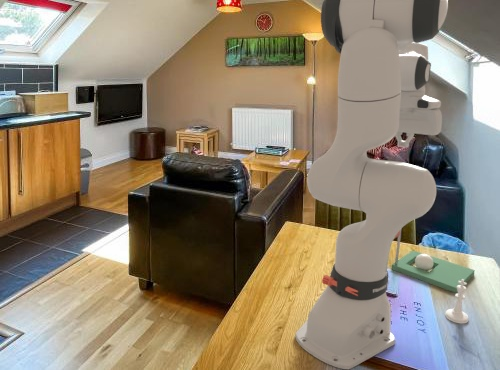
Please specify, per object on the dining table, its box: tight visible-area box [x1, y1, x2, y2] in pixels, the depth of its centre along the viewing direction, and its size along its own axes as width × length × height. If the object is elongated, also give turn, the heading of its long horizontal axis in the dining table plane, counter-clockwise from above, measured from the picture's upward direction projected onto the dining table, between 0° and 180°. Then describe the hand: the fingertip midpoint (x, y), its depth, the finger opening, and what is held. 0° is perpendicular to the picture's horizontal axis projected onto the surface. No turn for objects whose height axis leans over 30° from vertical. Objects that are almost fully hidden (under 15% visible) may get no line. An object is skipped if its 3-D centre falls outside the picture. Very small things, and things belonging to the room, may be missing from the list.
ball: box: [414, 253, 434, 272], centre depth 112 cm, size 5×5×5 cm
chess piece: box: [445, 279, 469, 324], centre depth 89 cm, size 5×5×10 cm
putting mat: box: [391, 227, 476, 294], centre depth 109 cm, size 17×18×14 cm
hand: (402, 146), depth 118 cm, fingers closed
